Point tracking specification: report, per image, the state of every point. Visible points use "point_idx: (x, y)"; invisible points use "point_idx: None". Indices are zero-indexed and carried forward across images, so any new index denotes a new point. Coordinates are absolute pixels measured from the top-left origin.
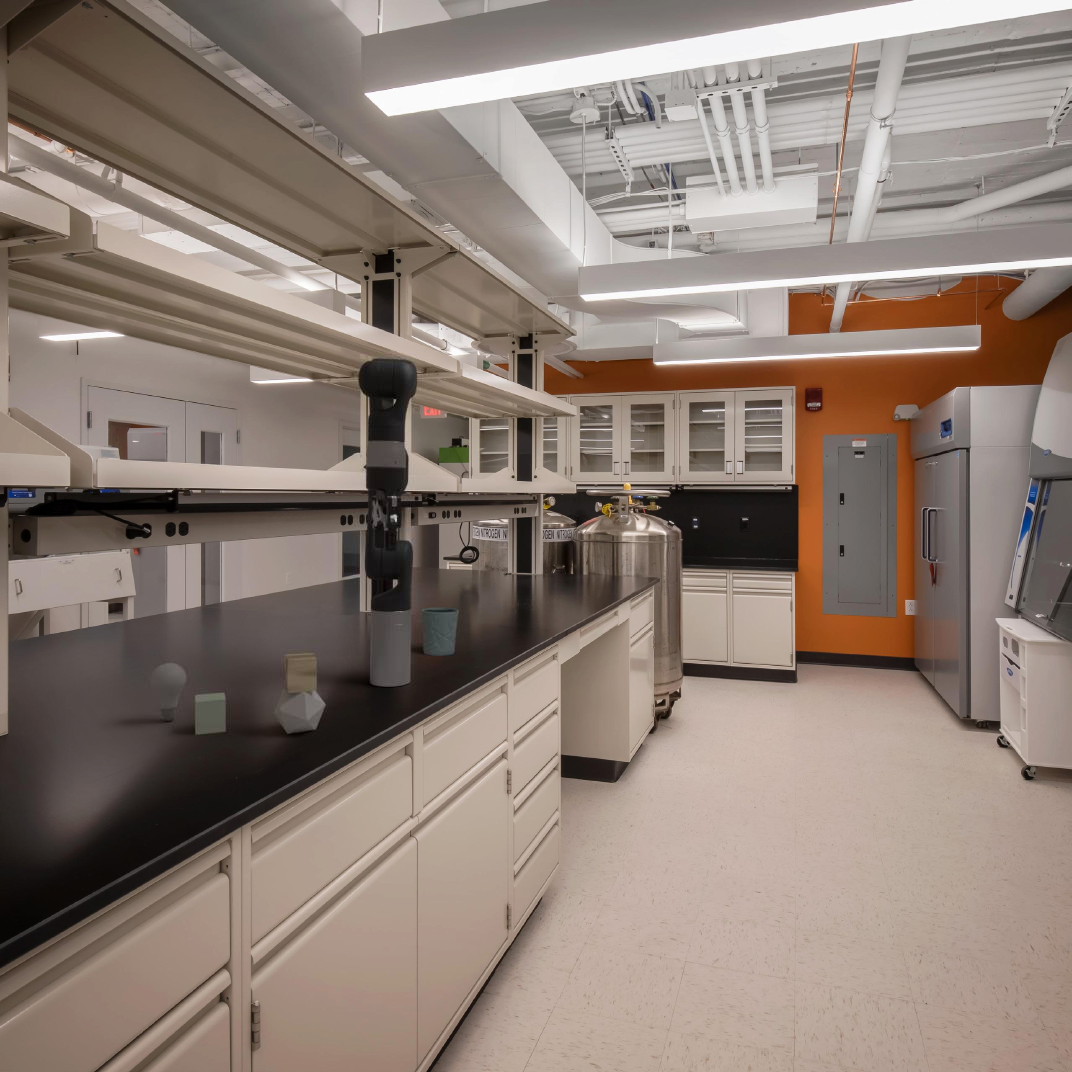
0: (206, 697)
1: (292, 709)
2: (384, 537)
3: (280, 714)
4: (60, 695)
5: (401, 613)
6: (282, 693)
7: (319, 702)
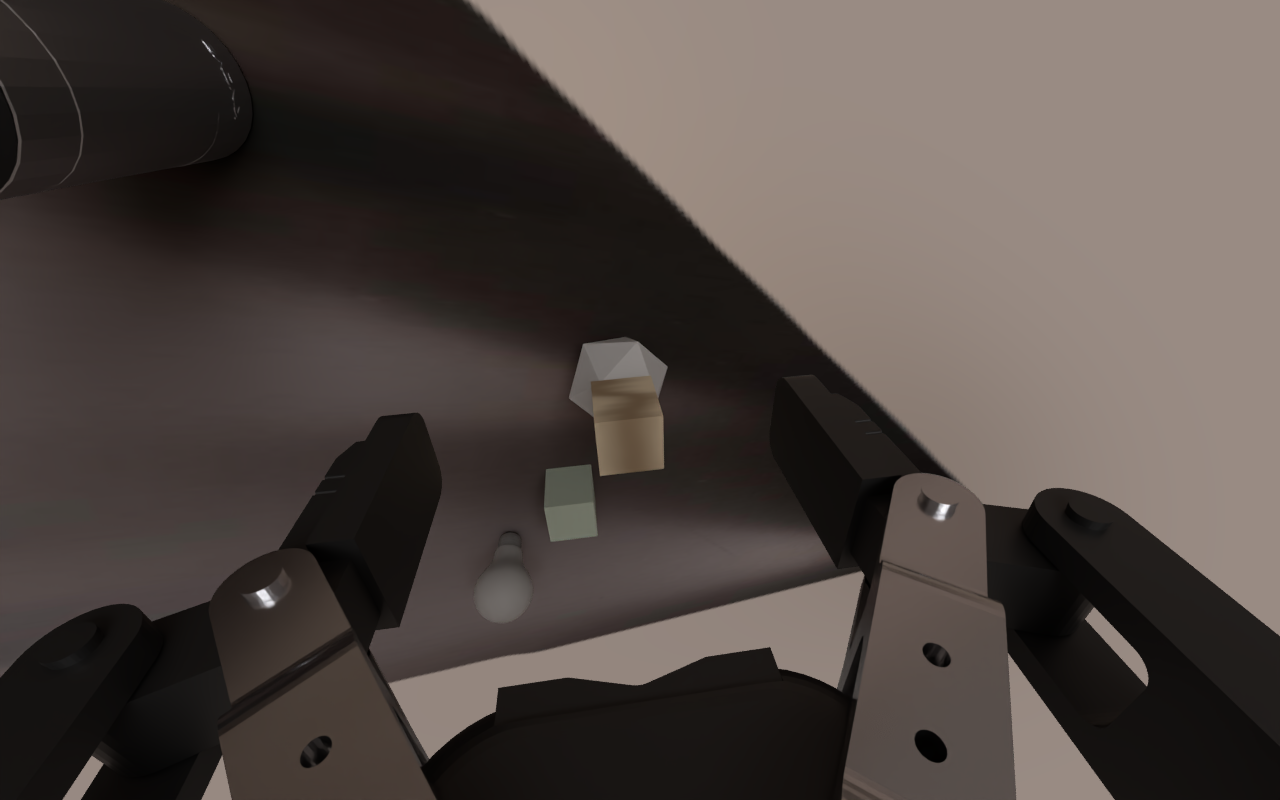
0: (572, 526)
1: None
2: (811, 521)
3: None
4: None
5: None
6: None
7: (644, 356)
